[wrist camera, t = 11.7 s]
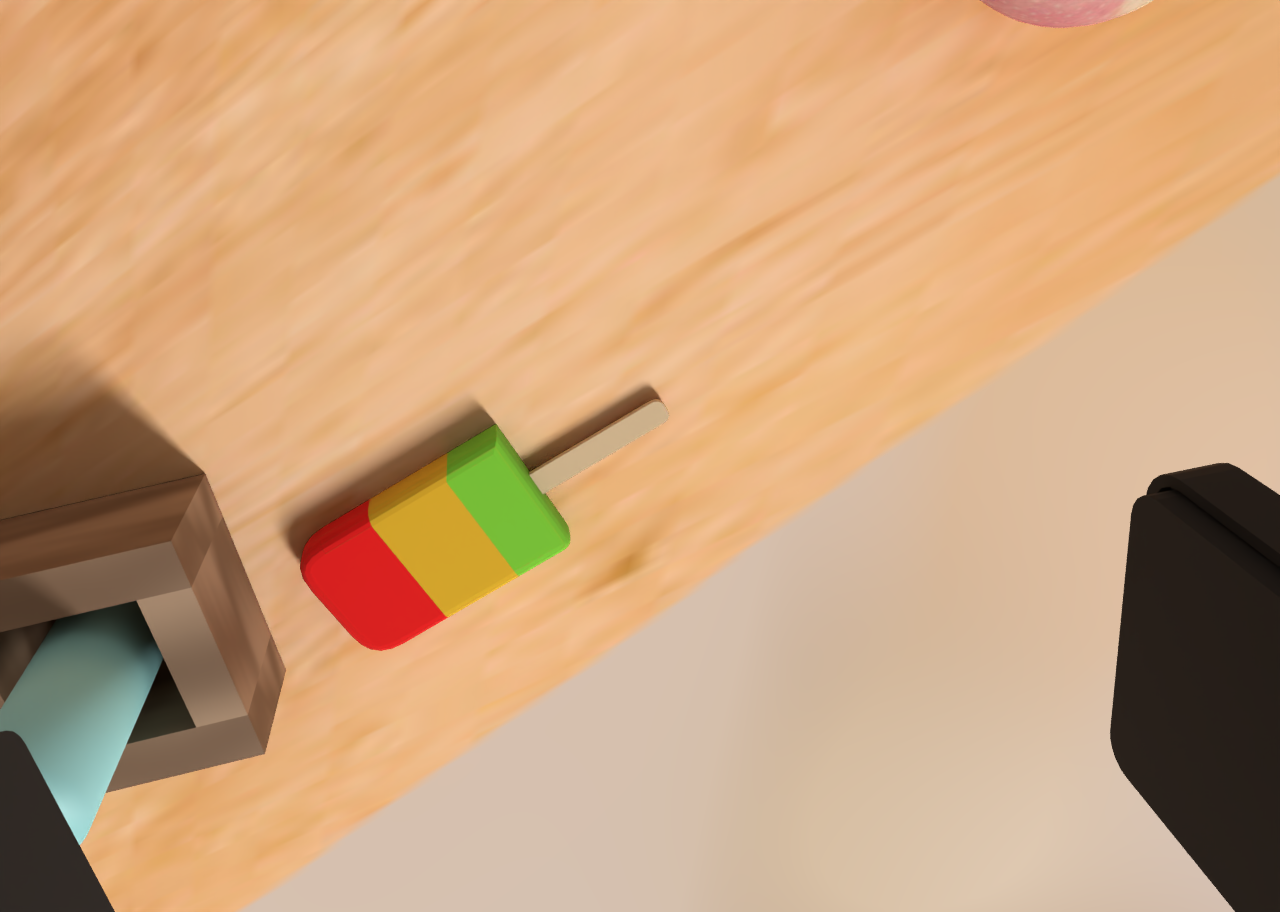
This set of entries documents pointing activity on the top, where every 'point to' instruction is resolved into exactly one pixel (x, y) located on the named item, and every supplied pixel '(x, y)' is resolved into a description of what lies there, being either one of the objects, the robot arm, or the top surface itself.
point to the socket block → (151, 618)
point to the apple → (1064, 11)
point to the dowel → (83, 703)
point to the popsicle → (450, 533)
